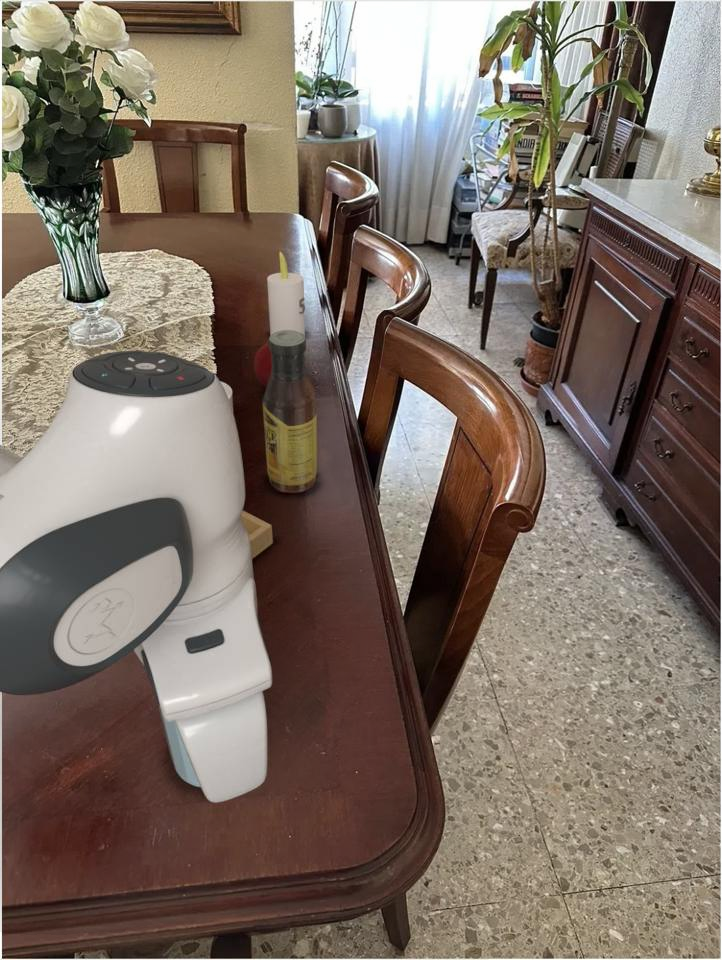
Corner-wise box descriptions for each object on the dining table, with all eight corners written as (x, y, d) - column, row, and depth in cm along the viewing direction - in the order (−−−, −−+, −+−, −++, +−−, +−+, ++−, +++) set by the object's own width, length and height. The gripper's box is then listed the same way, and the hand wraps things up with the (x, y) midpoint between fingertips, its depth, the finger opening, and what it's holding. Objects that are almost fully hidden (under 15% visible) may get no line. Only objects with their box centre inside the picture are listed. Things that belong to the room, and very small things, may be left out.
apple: (255, 402, 100) (251, 354, 96) (255, 378, 107) (252, 331, 102) (305, 400, 101) (304, 352, 97) (302, 376, 108) (301, 330, 103)
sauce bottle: (267, 469, 86) (257, 323, 74) (316, 467, 87) (313, 322, 75) (268, 499, 81) (257, 348, 69) (319, 496, 81) (317, 346, 70)
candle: (294, 344, 118) (291, 260, 109) (263, 337, 120) (258, 254, 112) (312, 332, 123) (310, 250, 114) (281, 325, 125) (278, 244, 116)
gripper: (113, 509, 49) (144, 634, 57) (166, 732, 34) (198, 860, 42) (197, 490, 52) (216, 613, 60) (282, 692, 37) (291, 821, 45)
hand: (209, 717), depth 51 cm, fingers closed on cup, 7 cm apart
